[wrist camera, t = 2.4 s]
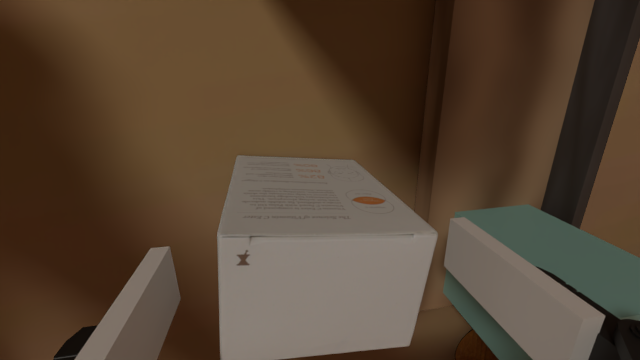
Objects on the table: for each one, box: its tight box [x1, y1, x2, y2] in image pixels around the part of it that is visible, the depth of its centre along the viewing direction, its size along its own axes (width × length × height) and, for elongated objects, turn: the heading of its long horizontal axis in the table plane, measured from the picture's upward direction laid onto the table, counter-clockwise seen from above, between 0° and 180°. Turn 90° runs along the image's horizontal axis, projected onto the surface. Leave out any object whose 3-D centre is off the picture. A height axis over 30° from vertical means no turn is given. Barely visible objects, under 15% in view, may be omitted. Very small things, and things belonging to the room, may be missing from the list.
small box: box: [217, 155, 438, 360], centre depth 16 cm, size 8×6×10 cm
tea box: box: [443, 204, 640, 360], centre depth 18 cm, size 6×7×10 cm
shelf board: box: [414, 0, 640, 311], centre depth 19 cm, size 10×28×4 cm, turn 1°
